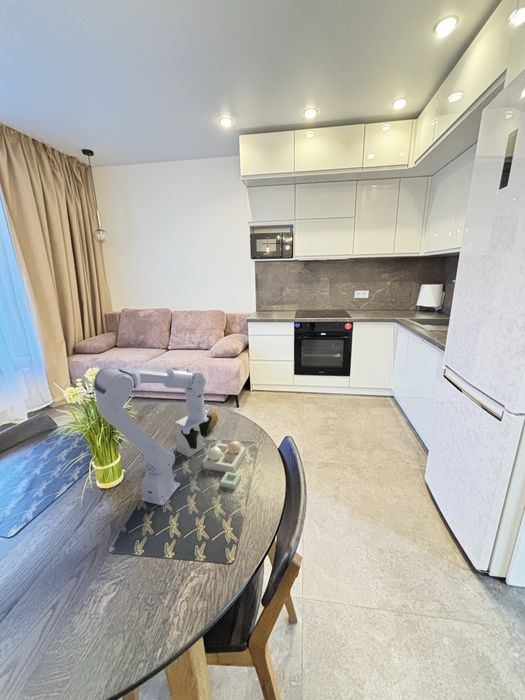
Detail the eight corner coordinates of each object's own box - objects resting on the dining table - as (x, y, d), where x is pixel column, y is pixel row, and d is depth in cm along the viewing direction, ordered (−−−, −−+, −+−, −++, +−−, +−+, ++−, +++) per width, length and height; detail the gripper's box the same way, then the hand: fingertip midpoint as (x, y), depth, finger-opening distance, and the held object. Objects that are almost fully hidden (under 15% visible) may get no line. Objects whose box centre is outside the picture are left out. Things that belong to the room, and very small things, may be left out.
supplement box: (189, 458, 110) (186, 427, 107) (177, 451, 115) (173, 421, 111) (204, 448, 116) (201, 419, 113) (191, 442, 120) (189, 414, 117)
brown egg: (238, 458, 106) (237, 446, 105) (225, 456, 107) (224, 444, 106) (243, 450, 110) (242, 439, 109) (231, 448, 112) (230, 437, 110)
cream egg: (218, 465, 103) (217, 452, 101) (206, 462, 104) (204, 450, 103) (224, 456, 107) (223, 445, 106) (212, 455, 108) (211, 443, 107)
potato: (189, 423, 135) (188, 407, 133) (220, 423, 134) (219, 407, 132) (183, 435, 125) (181, 418, 123) (216, 435, 125) (215, 418, 123)
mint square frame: (235, 489, 94) (234, 484, 93) (220, 486, 95) (220, 481, 94) (240, 479, 98) (240, 474, 98) (227, 476, 100) (226, 471, 99)
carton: (233, 474, 101) (233, 466, 100) (203, 468, 104) (202, 461, 103) (246, 454, 111) (245, 447, 110) (217, 449, 115) (217, 442, 114)
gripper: (195, 417, 91) (198, 455, 95) (216, 398, 104) (218, 432, 108) (175, 414, 93) (179, 452, 97) (198, 396, 107) (201, 430, 110)
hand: (199, 441), depth 103 cm, fingers open, 7 cm apart
